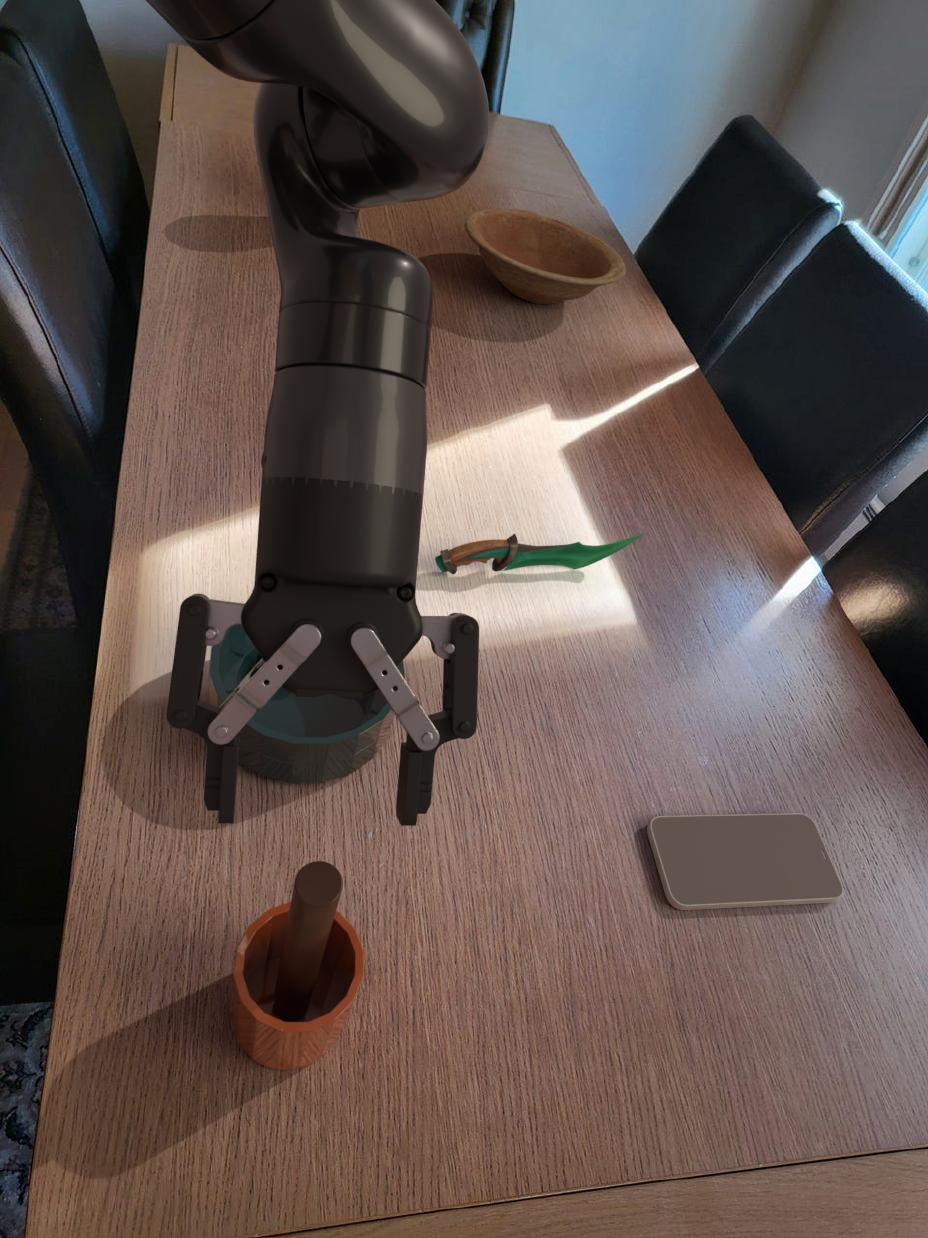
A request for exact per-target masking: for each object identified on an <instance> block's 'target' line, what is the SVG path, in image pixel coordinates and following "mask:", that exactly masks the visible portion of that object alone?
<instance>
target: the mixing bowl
mask: <svg viewBox="0 0 928 1238" xmlns="http://www.w3.org/2000/svg"><path fill="white" fill-rule="evenodd" d="M261 659H262V657H261V656H260V654H259V653H258V651H257V650H256V648H255V647H254V645H253V643H252V642H251V640H250V639H249V637H248V636H247V634H246V633H245V631H244V629H243V627H242V624H235V625H233V626H231V627H229V628H228V630H227V631H226V634H225V637H224V639H223V640H222V641H221V642H220V643H219V644H217V645H214V646H210V657H209V673H208V675H209V676H208V677H209V678H208V679H209V681H208V682H209V683H208V685H209V687H208V689H209V690H208V691H209V692H208V693H209V696H208V697H209V700H208V701H209V702H208V703H209V704H212V705H214V706H217V707H220V706H221V705H222V704H223V703H224V701H225V700H226V699H227V698H228V697H229V696H230V695H231V694H232V692H233V691H234V690H235V689H236V688H237V687H238V686H239V684H240V683H241V681H242V680H243V679H244V678H245V677H246V676H247V674H248V673H249V672H250V671H251V670H252V669H253V668H254V667H255V666H256V664H257V663H258V662H259V661H260V660H261ZM404 665H405V663H404V660H403V661H402V662H401V663H400V665H399V666H398V667H397V668H398V670H399V671H400V673H401V674H402V676H403V678H404V679H405V680H406V673H405V666H404ZM394 717H395V714H394V712H393V711H392V709H391V708H390V706H389V705H388V703H387V702H386V700H385V699H384V697H383V696H382V694H381V693H380V691H379V690H377V691H376V692H374V693H372V694H370V695H368V696H365V697H363V700H362V699H346V698H343V697H339V696H336V695H333V694H326V695H321V696H317V697H296V695H295V694H294V693H291V692H289V691H287V690H286V689H284V688H283V687H282V686H281V687H280V688H279V689H278V690H277V692H276V693H275V694H274V695H273V696H272V697H271V698H270V699H269V701H268V702H267V703H266V704H265V705H264V706H263V707H262V708H261V709H260V710H259V711H257V712H256V713H255V714H254V715H253V717H252V718H251V719H250V720H249V721H248V722H247V723H246V724H245V726H244V727H243V728H242V729H241V730H240V731H239V732H238V733H237V735H236V736H240V742H239V756H238V763H240V764H242V765H243V766H245V767H247V768H248V769H250V770H251V771H252V772H255V773H256V774H258V775H260V776H262V777H264V778H265V777H266V778H270V779H273V780H277V781H280V782H284V783H287V784H320V783H321V784H322V783H325V782H328V781H333V780H335V779H339V778H343V777H345V776H348V775H350V774H352V773H353V772H356V770H359V768H361V767H362V766H364V765H366V764H367V763H368V762H370V761H372V759H374V757H375V756H376V755H377V753H378V752H379V750H381V748H382V747H383V746H384V744H385V743H386V742H387V740H388V739H389V734H390V731H391V728H392V725H393V721H394Z"/></svg>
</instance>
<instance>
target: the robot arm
mask: <svg viewBox="0 0 928 1238" xmlns="http://www.w3.org/2000/svg"><path fill="white" fill-rule="evenodd" d="M145 1H146V2H147V3H148V4H149V6H150V7H151V8H152V9H153V10H154V11H155V12H156V13H157V14H158V15H159V16H160V17H161V18H162V19H163V20H164V21H165V22H166V23H167V24H168V25H169V27H171V28H172V29H173V30H174V31H175V32H176V33H177V34H178V35H179V36H180V38H182V39H183V41H185V42H186V44H187V45H188V46H189V47H190V48H191V49H192V50H194V51H195V52H196V53H197V54H198V55H199V56H200V57H201V58H202V59H203V60H204V61H206V62H207V63H208V64H209V65H211V66H212V67H213V68H214V69H216V70H217V71H219V72H221V73H222V74H224V75H226V76H228V77H230V78H233V79H236V80H239V81H244V82H248V83H257V84H260V85H259V87H258V90H257V94H256V98H255V102H254V111H253V138H254V145H255V152H256V157H257V163H258V167H259V168H258V169H259V173H260V177H261V183H262V187H263V193H264V197H265V203H266V210H267V214H268V220H269V227H270V228H269V229H270V234H271V239H272V243H273V249H274V254H275V261H276V266H277V271H278V277H279V285H280V299H279V308H278V318H277V319H278V320H277V333H276V334H277V337H276V349H275V362H274V372H275V373H274V378H273V385H272V391H271V396H270V400H269V405H268V410H267V415H266V420H265V428H264V429H265V430H264V438H263V439H264V440H263V452H262V454H261V462H260V463H261V465H260V466H261V483H260V496H259V497H260V499H259V511H258V525H257V541H256V555H255V556H256V557H255V568H254V569H255V570H254V582H253V583H254V584H253V589H252V592H251V594H250V596H249V597H248V599H247V600H246V601H245V603H242V602H235V601H228V600H219V599H212V598H209V597H208V596H207V595H206V594H203V593H193V594H192V595H189V596H188V597H186V598H185V599H184V600H183V601H182V602H181V604H180V607H179V613H178V623H177V629H176V637H175V645H174V652H173V660H172V669H171V677H170V683H169V692H168V699H167V700H168V701H167V706H166V707H167V708H166V716H165V717H166V720H167V723H168V724H169V725H170V726H171V727H172V728H174V729H176V730H177V729H178V730H182V729H184V730H186V731H189V732H192V733H194V734H196V735H199V736H200V737H201V738H202V739H203V740H204V743H205V744H206V756H205V757H206V758H205V759H206V760H205V775H204V789H203V802H204V805H205V807H206V808H205V809H206V811H207V812H217V813H218V814H217V824H222V825H223V824H227V825H230V824H231V825H233V824H234V821H235V812H236V797H237V784H238V770H239V768H238V767H239V761H238V756H239V742H240V736H236V735H237V733H238V732H239V731H240V730H241V729H242V728H243V727H244V726H245V724H246V723H247V722H248V721H249V720H250V719H251V718H252V717H253V715H254V714H255V713H256V712H257V711H259V710H260V709H261V708H262V707H263V706H264V705H265V704H266V703H267V702H268V701H269V699H270V698H271V697H272V696H273V695H274V694H275V693H276V692H277V690H278V689H279V688H280V687H281V686H282V687H283V688H284V689H286V690H287V691H289V692H291V693H294V694H295V695H296V697H317V696H321V695H326V694H333V695H336V696H339V697H343V698H346V699H362V700H363V697H365V696H368V695H370V694H372V693H374V692H376V691H377V690H379V691H380V693H381V694H382V696H383V697H384V699H385V700H386V702H387V703H388V705H389V706H390V708H391V709H392V711H393V712H394V716H395V717H396V718H397V720H398V721H399V723H400V724H401V726H402V728H403V729H404V730H405V732H406V741H405V742H403V741H401V742H400V752H399V753H400V754H399V765H398V776H397V777H398V778H397V790H396V800H395V801H396V803H395V805H396V806H395V815H396V819H397V820H398V823H399V824H400V826H401V827H402V826H403V827H416V826H417V823H418V815H426V814H427V813H428V811H429V809H430V807H431V805H432V795H433V782H434V772H435V771H434V770H435V758H436V753H437V751H438V749H439V748H440V747H441V746H442V745H444V744H446V743H448V742H452V741H454V740H458V739H460V740H468V739H470V738H472V737H473V736H474V735H475V734H476V731H477V729H478V728H477V727H478V698H479V697H478V695H479V693H478V692H479V659H480V658H479V657H480V656H479V654H480V624H479V621H478V620H477V619H476V618H475V617H473V616H471V615H468V614H466V613H462V612H452V613H450V614H449V615H421V612H420V610H419V607H418V604H417V598H416V594H417V593H416V591H417V579H418V565H419V553H420V552H419V551H420V541H421V528H422V517H423V507H424V506H423V505H424V492H425V480H426V466H427V455H428V420H427V419H428V417H427V386H428V373H429V361H430V360H429V359H430V351H431V350H430V349H431V337H432V325H433V310H434V307H433V306H434V291H433V290H434V289H433V288H434V287H433V283H432V278H431V275H430V273H429V272H428V270H427V268H426V266H425V265H424V264H423V262H421V260H419V259H418V258H417V257H416V256H414V255H412V254H411V253H410V252H409V251H406V250H404V249H402V248H401V247H398V246H395V245H393V244H392V245H391V244H389V243H385V242H381V241H378V240H373V239H368V238H365V237H360V235H359V231H358V229H359V228H358V222H359V215H360V211H361V209H362V210H363V209H370V208H378V207H382V206H389V205H390V206H391V205H396V204H402V203H413V202H421V201H426V200H427V201H428V200H432V199H437V198H440V197H443V196H445V195H446V196H447V195H449V194H452V193H453V192H455V191H457V190H458V189H460V188H461V187H462V186H464V185H465V184H466V183H467V182H468V181H469V180H470V178H471V177H472V176H473V174H474V173H475V172H476V171H477V169H478V167H479V165H480V163H481V160H482V158H483V156H484V154H485V150H486V147H487V143H488V137H489V129H490V109H489V107H490V106H489V100H488V93H487V89H486V85H485V80H484V77H483V75H482V72H481V69H480V66H479V64H478V61H477V59H476V58H475V57H476V56H475V55H474V52H473V50H472V49H471V46H470V45H469V43H468V41H467V39H466V38H465V36H464V35H463V32H461V30H460V28H459V27H458V25H456V23H455V22H454V20H453V19H452V17H451V16H450V15H449V14H448V13H447V12H446V10H445V9H444V8H443V7H442V6H441V5H440V4H439V3H438V2H437V1H436V0H145ZM235 624H242V627H243V629H244V631H245V633H246V634H247V636H248V637H249V639H250V640H251V642H252V643H253V645H254V647H255V648H256V650H257V651H258V653H259V654H260V656H261V657H262V659H261V660H260V661H259V662H258V663H257V664H256V666H255V667H254V668H253V669H252V670H251V671H250V672H249V673H248V674H247V676H246V677H245V678H244V679H243V680H242V681H241V683H240V684H239V686H238V687H237V688H236V689H235V690H234V691H233V692H232V694H231V695H230V696H229V697H228V698H227V699H226V700H225V701H224V703H223V704H222V705H221V706H220V707H217V706H214V705H212V704H209V702H206V701H204V700H202V699H201V695H202V685H203V677H204V670H205V665H206V655H207V649H208V646H209V647H212V646H214V645H217V644H219V643H220V642H221V641H222V640H223V639H224V637H225V634H226V631H227V630H228V628H229V627H231V626H233V625H235ZM422 637H426V638H427V639H428V640H429V643H430V646H431V647H430V648H431V650H432V652H433V654H434V655H436V656H437V657H439V658H440V659H442V661H443V662H442V663H443V667H442V702H441V703H442V705H441V706H442V707H441V708H442V709H441V711H438V712H434V713H431V714H429V715H428V714H427V712H426V711H425V709H424V707H423V706H422V704H421V703H420V701H419V699H418V697H417V696H416V695H415V693H414V691H413V690H412V688H411V687H410V685H409V684H408V682H407V680H406V678H405V679H404V678H403V676H402V674H401V673H400V671H399V670H398V668H397V667H398V666H399V665H400V663H401V662H402V661H403V662H404V660H405V658H407V656H408V655H409V654H410V653H411V652H412V650H413V649H414V648H415V647H416V645H417V644H418V643H419V642H420V640H421V639H422Z"/></svg>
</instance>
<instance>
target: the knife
mask: <svg viewBox="0 0 928 1238" xmlns="http://www.w3.org/2000/svg"><path fill="white" fill-rule="evenodd" d="M643 536H645V533H643V534H638V535H636V536H631V537H629V538H626V539H622V540H618V541H615V542H610V543H605V544H599V545H591V544H589V545H588V544H583V543H581V542H580V541H577V542H573V543H568V544H567V543H566V544H555V545H532V544H525V543H519V540H518V537H517V535H516V534H515V533H513V534H512V535H510V536H509V537H507V538H506V539H501V538H500V539H485V540H484V539H483V540H477V541H472V542H468V543H464V544H461V545H458V546H455V547H453V548H450V549H448V548H446V549H443V550H441V549H440V550H439V551H440V554H439V555H437V556H435V557H434V560H435V565H437V567H438V569H439V570H440V571H441V573H442V574H446V573H450V574H451V575H456V573H457V572H458V568H459V567H461V566H469V565H472V564H473V563H478V562H479V563H483V564H487V562H488V561H489V560H491V559H492V562H491V570H492V571H493V572H500V571H503V572H504V571H509V570H515V569H521V568H526V567H535V566H559V567H565V568H568V569H572V570H578V569H582V568H585V567H588V566H590V565H593V564H595V563H597V562H601V561H602V560H604V559H606V558H608V557H609V556H612V555H613V554H615V553H616V554H617V552H619V551H621V550H623V549H625V548H626V547H628V546H629V545H631V544H632V543H633V544H634V542H636V541H637V540H639V539H640V538H641V537H643Z"/></svg>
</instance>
